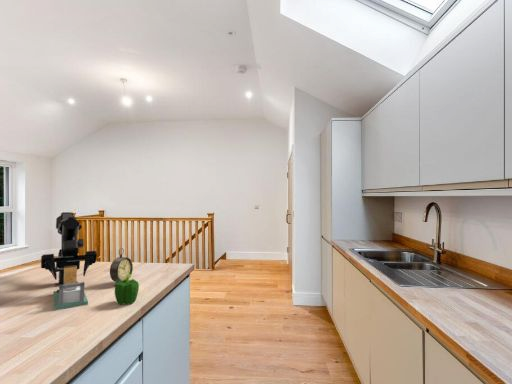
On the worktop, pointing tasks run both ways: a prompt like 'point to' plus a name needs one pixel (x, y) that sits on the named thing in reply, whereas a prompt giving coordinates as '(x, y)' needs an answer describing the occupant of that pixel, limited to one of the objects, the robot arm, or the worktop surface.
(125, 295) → the bell pepper
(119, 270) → the alarm clock
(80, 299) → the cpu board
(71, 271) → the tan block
